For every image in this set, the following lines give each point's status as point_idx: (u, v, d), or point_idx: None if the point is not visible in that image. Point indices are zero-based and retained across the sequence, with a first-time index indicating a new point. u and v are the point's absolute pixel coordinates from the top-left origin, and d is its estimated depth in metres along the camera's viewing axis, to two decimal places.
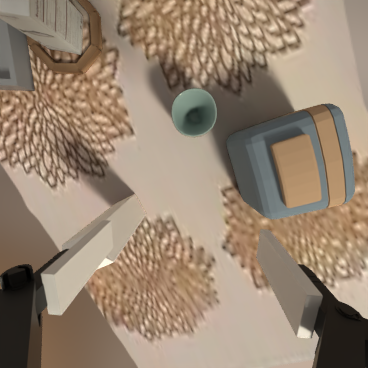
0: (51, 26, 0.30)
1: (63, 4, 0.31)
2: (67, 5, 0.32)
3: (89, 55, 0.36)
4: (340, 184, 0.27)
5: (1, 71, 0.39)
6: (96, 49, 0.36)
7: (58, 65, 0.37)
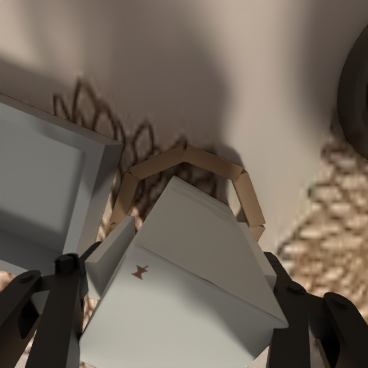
0: None
1: None
2: None
3: None
4: None
5: (38, 226, 0.21)
6: None
7: None
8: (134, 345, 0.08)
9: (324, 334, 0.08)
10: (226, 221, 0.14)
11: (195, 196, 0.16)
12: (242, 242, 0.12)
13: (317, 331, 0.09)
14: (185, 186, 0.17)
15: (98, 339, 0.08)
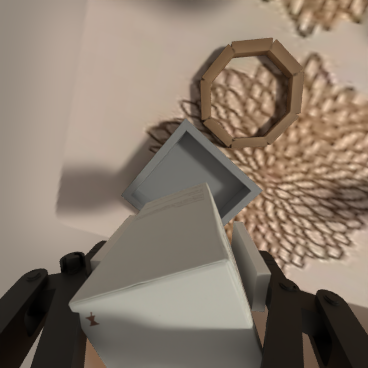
0: None
1: (219, 218, 0.13)
2: None
3: (299, 88, 0.26)
4: None
5: (214, 197, 0.32)
6: (302, 74, 0.26)
7: (272, 133, 0.28)
8: None
9: (316, 330, 0.09)
10: (190, 203, 0.14)
11: (160, 205, 0.16)
12: (202, 209, 0.12)
13: (309, 328, 0.09)
14: (153, 204, 0.17)
15: None
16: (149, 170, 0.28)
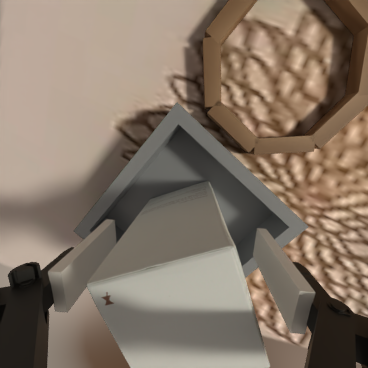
0: None
1: None
2: None
3: None
4: None
5: None
6: None
7: (324, 129, 0.17)
8: (162, 349, 0.09)
9: None
10: (194, 199, 0.15)
11: (165, 201, 0.17)
12: (206, 205, 0.13)
13: (367, 358, 0.08)
14: (157, 200, 0.18)
15: (140, 363, 0.09)
16: (117, 192, 0.17)
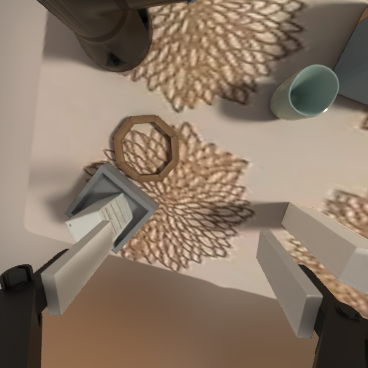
0: (119, 229, 0.38)
1: (116, 205, 0.40)
2: (117, 202, 0.41)
3: (176, 145, 0.41)
4: None
5: None
6: (176, 136, 0.40)
7: (163, 172, 0.42)
8: None
9: None
10: (107, 200, 0.40)
11: (100, 201, 0.42)
12: (106, 202, 0.38)
13: None
14: (99, 200, 0.44)
15: None
16: (81, 197, 0.43)
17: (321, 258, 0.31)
